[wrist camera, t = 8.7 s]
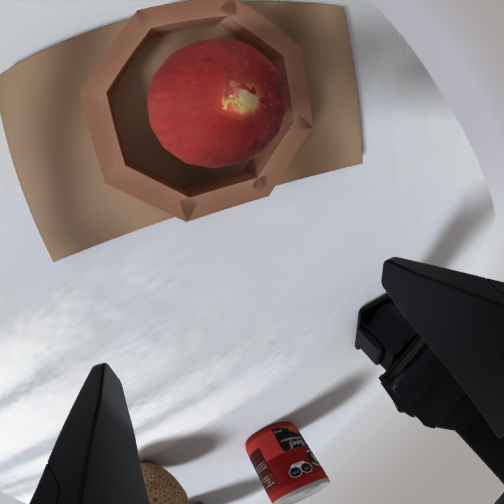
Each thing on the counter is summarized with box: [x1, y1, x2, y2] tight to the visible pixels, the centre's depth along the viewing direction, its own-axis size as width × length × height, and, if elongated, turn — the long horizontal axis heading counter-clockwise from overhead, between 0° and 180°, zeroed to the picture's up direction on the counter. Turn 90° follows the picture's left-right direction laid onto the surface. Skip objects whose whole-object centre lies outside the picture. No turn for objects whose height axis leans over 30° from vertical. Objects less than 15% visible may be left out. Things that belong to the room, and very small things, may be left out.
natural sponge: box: [140, 462, 188, 504], centre depth 26 cm, size 9×9×10 cm
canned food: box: [246, 422, 330, 504], centre depth 32 cm, size 8×8×11 cm
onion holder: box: [0, 0, 363, 262], centre depth 14 cm, size 22×12×3 cm, turn 100°
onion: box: [147, 38, 286, 168], centre depth 11 cm, size 6×6×8 cm
